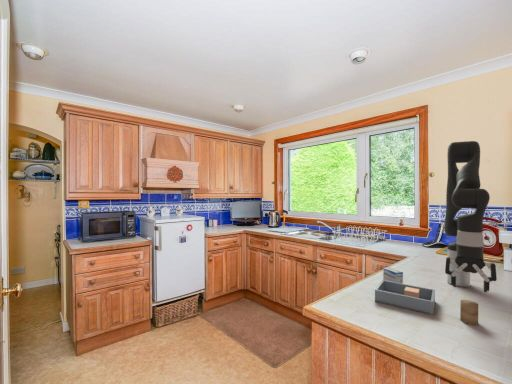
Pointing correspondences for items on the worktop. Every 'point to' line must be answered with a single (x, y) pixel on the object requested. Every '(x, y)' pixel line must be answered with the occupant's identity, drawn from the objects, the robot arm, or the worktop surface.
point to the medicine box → (392, 275)
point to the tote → (405, 297)
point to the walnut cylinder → (469, 312)
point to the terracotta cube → (411, 292)
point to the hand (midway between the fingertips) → (469, 288)
